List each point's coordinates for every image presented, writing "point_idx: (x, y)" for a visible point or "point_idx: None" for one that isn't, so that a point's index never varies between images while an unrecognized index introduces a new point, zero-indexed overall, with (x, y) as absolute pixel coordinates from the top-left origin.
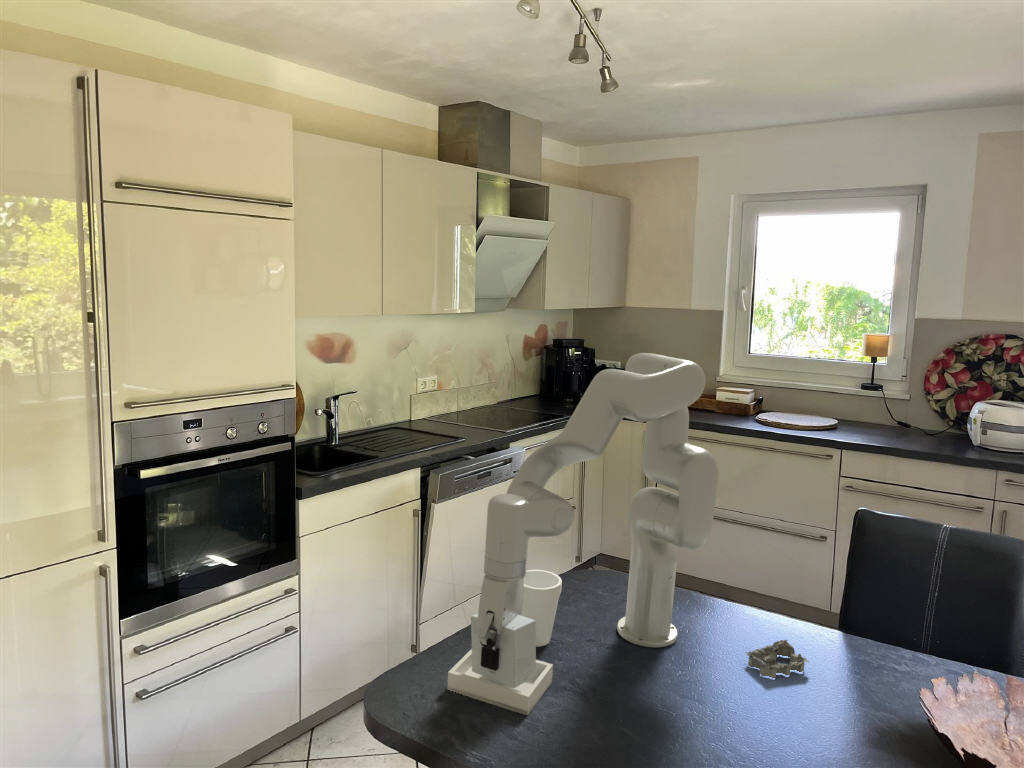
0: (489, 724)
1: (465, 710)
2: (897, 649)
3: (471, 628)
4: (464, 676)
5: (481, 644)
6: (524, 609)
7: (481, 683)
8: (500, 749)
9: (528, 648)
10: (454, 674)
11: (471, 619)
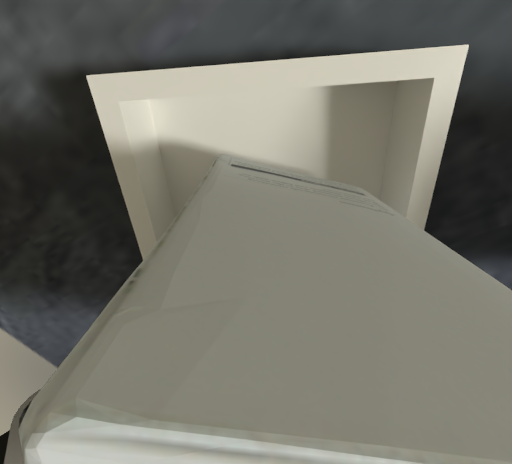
0: (97, 284)
1: (91, 203)
2: None
3: (152, 252)
4: (121, 174)
5: (17, 418)
6: None
7: (142, 251)
8: (49, 335)
9: None
10: (100, 119)
11: (60, 378)
